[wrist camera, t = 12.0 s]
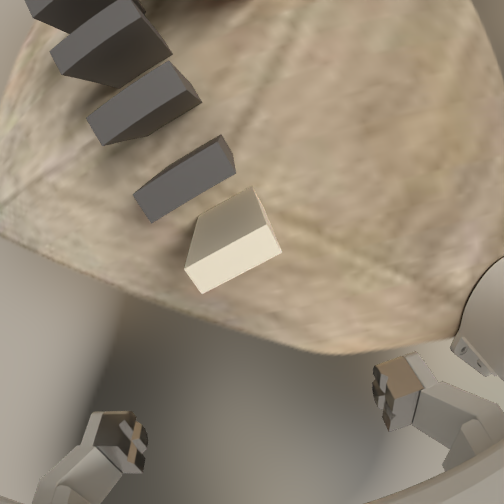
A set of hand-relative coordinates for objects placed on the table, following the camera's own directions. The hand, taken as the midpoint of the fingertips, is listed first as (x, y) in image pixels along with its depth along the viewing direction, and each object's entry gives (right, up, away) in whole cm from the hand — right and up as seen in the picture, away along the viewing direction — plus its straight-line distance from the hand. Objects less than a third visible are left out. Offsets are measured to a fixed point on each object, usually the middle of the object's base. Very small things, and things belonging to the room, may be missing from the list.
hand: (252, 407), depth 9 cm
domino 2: (-9, +20, +11) cm, 24 cm away
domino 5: (-2, +8, +17) cm, 19 cm away
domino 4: (-4, +12, +15) cm, 20 cm away
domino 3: (-6, +16, +13) cm, 22 cm away
